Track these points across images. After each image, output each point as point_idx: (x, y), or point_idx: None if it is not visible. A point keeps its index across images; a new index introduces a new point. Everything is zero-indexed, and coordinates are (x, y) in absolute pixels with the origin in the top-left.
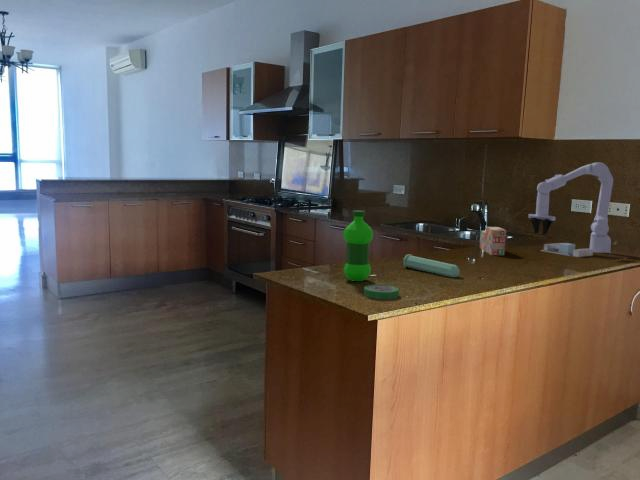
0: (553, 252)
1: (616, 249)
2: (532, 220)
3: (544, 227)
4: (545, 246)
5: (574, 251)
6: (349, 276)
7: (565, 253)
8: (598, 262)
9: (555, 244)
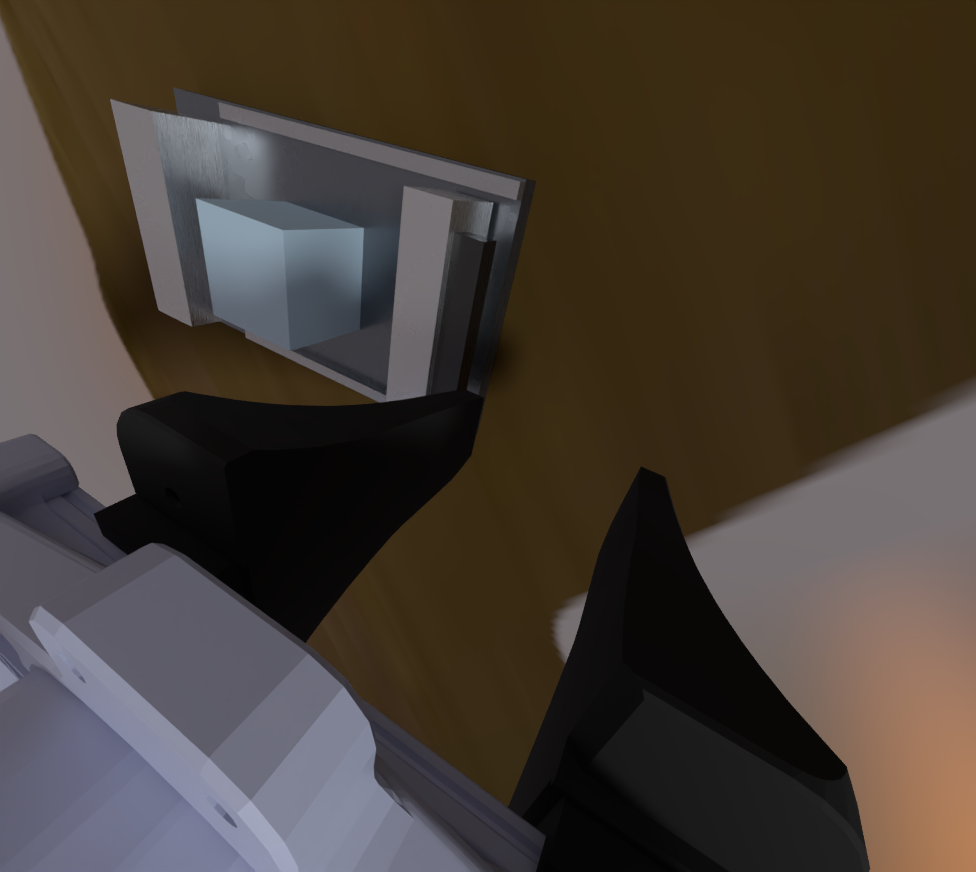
0: (366, 141)
1: (345, 671)
2: (706, 699)
3: (361, 406)
4: (445, 193)
5: (158, 110)
6: None
7: (300, 207)
8: (101, 111)
9: (392, 340)
